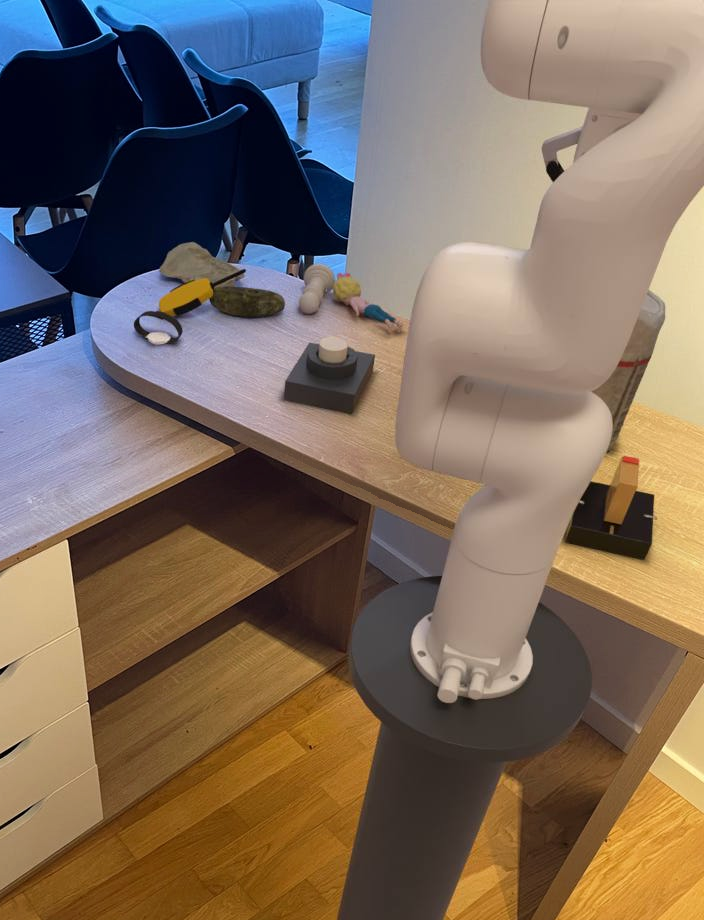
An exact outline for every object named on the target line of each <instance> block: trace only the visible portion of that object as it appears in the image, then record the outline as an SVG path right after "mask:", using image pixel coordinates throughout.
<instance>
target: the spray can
mask: <svg viewBox="0 0 704 920" xmlns="http://www.w3.org/2000/svg"><path fill="white" fill-rule="evenodd" d="M665 320H666V304H665V301H664V300H663V299H662V298H661V297H660V296H658V294H656V293H654V292H653V291H652V290H651V289H649V290H648V293H647V295H646V298H645V300H644V303H643V306H642V308H641V311H640V313H639V316H638V318H637V321H636V324H635V326H634V329H633V331H632V334H631V336H630V339H629V341H628V344H627V346H626V348H625V350H624V353H623V355H622V357H621V359H620V361H619V363H618V365H617V367H616V369H615V370H614V372H613V373H612V375H611V376H610V377H609V379H608V380H607V381H606V382H605V383H603V384H602V385H601V386H600V387H599V388H597V389H595V390H593V391H591V392H592V393H594V394H595V395H597V396H598V397H599V398H601V399H602V400H603V401H604V402H605V404H606V405H607V407H608V408H609V410H610V412H611V416H612V422H613V429H612V436H611V440H610V443H609V446H608V449H607V452H610V451H612V450H613V449H614V448H615V445H616V441H617V440H618V438H619V436H620V433H621V430H622V428H623V427H624V423H625V420H626V418H627V415H628V413H629V412H630V408H631V406H632V404H633V402H634V400H635V397H636V394H637V391H638V389H639V388H640V384H641V382H642V380H643V377H644V375H645V372H646V370H647V368H648V364H649V363H650V361H651V359H652V356H653V353H654V351H655V348H656V344H657V341H658V337H659V334H660V332H661V329H662V327H663V326H664V323H665Z"/></svg>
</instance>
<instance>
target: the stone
mask: <svg viewBox="0 0 704 920" xmlns="http://www.w3.org/2000/svg"><path fill="white" fill-rule="evenodd" d="M240 270H241V269H240V268H238V267H237V266H234V265H233V264H231V263H229V262H227V261H226V260H223V259H222V258H219V257H214V256H213V255H212V254H211V253H210V252H209V251H208V249H206V248H203V247H202V246H201V245H200V244H198V243H196V242H194V241H190V242H185V243H181V244H178V245H177V246H176V247H174V248H172V250H170V251H168V252H167V254H166V258H165V259H164V262H163V263H162V265H161V266H160V267H159V270H158V271H159V273H160V274H161V275H162V276H164V277H166V278H171V279H179V280H181V281H182V282H183V283H186V282H189V281H192V280H198V279H202V278H207V279H208V280H209V281H210V282H212V283H214V282H217V281H219V280H221V279H223V278H225V277H227V276H230V275H232V274H234V273H236V272H238V271H240ZM245 275H246V274H245V273H243V274H241V275H239V276H237V277H234V278H232V279H230V280H228V281H226V282H224V283H221V284H219V285H217V286H215V287H214V288H216V287H236V281H237V282H238V281H240V280H242V279H243V278H245Z"/></svg>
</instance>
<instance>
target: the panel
mask: <svg viewBox="0 0 704 920" xmlns="http://www.w3.org/2000/svg"><path fill="white" fill-rule="evenodd" d="M610 485H611V484H606V483H602V482H596V481H592V480H591V482H590V483H589V485H588V487H587V488H586V490H585V492H584V494H583V495H582V497H581V499H580V501H579V503H578V504H577V506H576V508H575V510H574V513H573V515H572V517H571V519H570V521H569V524H568V526H567V529H566V531H565V533H566V534H565V540H564V542H565V543H567V544H571V545H577V546H580V547H584V548H590V549H593V550H597V551H599V550H600V551H602V552H608V553H611V554H616V555H621V556H625V557H629V558H633V559H638V560H642V561H645V560H646V557H647V555H648V553H649V551H650V549H651V547H652V545H653V530H654V526H653V525H654V520H657V519H658V516H654V512H655V511H654V510H655V509H654V508H655V494H653V493H649V492H644V491H639V490H636V491H635V493H634V496H633V498H632V501H631V503H630V505H629V508H628V510H627V512H626V515H625V517H624V520H623V522H622V524H616V523H612V522H607V521H604V514H605V505H606V496H607V492H608V490H609V487H610Z"/></svg>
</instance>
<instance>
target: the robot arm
mask: <svg viewBox="0 0 704 920" xmlns="http://www.w3.org/2000/svg"><path fill="white" fill-rule="evenodd" d="M479 55H480V63H481V68H482V72H483V75H484V77H485V79H486V81H487V83H489V85H490V86H491V87H492V88H493V89H495V90H496V91H497V92H499V93H501V94H502V95H505V96H508V97H510V98H514V99H519V100H525V101H535V102H543V103H550V104H558V105H565V106H573V107H581V108H587V112H586V115H585V117H584V121H583V124H582V126H580V127H577V128H574V129H571V130H568V131H566V132H563V133H561V134H559V135H556V136H553V137H551V138H548V139H545V140H544V141H542V146H541V153H542V159H543V162H544V165H545V172H546V174H547V175H548V177H549V179H550V180H551V182H552V183H551V185H549V187H548V188H547V190H546V191H545V193H544V195H543V197H542V199H541V202H540V205H539V209H538V213H537V217H536V222H535V227H534V230H533V234H532V238H531V242H530V247H529V248H528V249H525V248H518V247H511V246H506V245H499V244H493V243H488V242H480V241H460V242H455V243H452V244H449V245H448V246H446V247H444V248H443V249H441V250H440V251H439V252H438V253H436V254H435V256H433V258H432V259H431V261H430V262H429V263H428V265H427V267H426V269H425V271H424V273H423V275H422V277H421V279H420V282H419V285H418V288H417V290H416V294H415V296H414V301H413V305H412V307H411V315H410V320H409V324H408V329H407V335H406V344H405V350H404V351H405V352H404V359H403V366H402V372H401V373H402V374H401V379H400V380H401V381H400V386H399V387H400V388H399V395H398V400H397V401H398V402H397V409H396V417H395V425H394V427H395V428H394V439H395V447H396V450H397V452H398V454H399V456H400V457H401V459H402V460H403V461H404V462H406V463H408V464H409V465H411V466H413V467H415V468H419V469H423V470H425V471H429V472H433V473H436V474H440V475H445V476H449V477H453V478H457V479H461V480H466V481H469V482H474V483H478V484H480V485H482V486H481V487H480V488H479V489H477V490H476V491H475V492H474V493H473V494H472V495H471V496H470V497H469V498H468V499H467V500H466V501H465V503H464V504H463V506H462V507H461V509H460V511H459V513H458V515H457V518H456V521H455V525H454V527H453V531H452V535H451V540H450V543H449V548H448V552H447V555H446V559H445V564H444V567H443V572H442V575H441V576H442V579H441V583H440V587H439V591H438V595H437V599H436V602H435V606H434V610H433V612H432V613H430V614H428V615H427V616H425V617H424V618H423V619H422V620H421V621H419V622H418V624H417V625H416V627H415V628H414V630H413V634H412V637H411V642H410V652H411V656H412V659H413V662H414V664H415V665H416V667H417V668H418V670H419V671H420V672H421V673H422V674H423V675H424V676H425V677H426V678H427V679H428V680H429V681H430V682H432V683H433V684H434V685H436V686H438V687H439V690H438V694H437V696H438V698H439V699H440V700H441V701H442V702H445V703H453V702H455V701H456V700H457V697H458V695H459V696H463V697H467V698H472V699H476V700H477V699H492V698H497V697H502V696H505V695H507V694H510V693H512V692H514V691H515V690H517V689H518V688H520V687H521V686H522V684H523V683H524V682H525V681H526V680H527V677H528V675H529V673H530V670H531V667H532V664H533V655H532V651H531V647H530V645H529V643H528V641H527V639H526V635H527V633H528V630H529V627H530V624H531V622H532V619H533V616H534V614H535V611H536V608H537V605H538V603H539V602H540V599H541V597H542V595H543V592H544V590H545V587H546V584H547V580H548V578H549V575H550V572H551V570H552V567H553V564H554V562H555V559H556V557H557V554H558V552H559V549H560V546H561V544H562V541H563V539H564V537H565V535H566V534H565V533H566V532H567V526H568V524H569V521H570V519H571V517H572V515H573V513H574V510H575V508H576V506H577V504H578V503H579V501H580V499H581V497H582V495H583V494H584V492H585V490H586V488H587V487H588V485H589V483H590V482H591V481H592V480H593V478H594V477H595V475H596V474H597V472H598V470H599V468H600V466H601V464H602V463H603V461H604V458H605V456H606V454H607V452H608V451H607V449H608V446H609V443H610V440H611V436H612V429H613V422H612V416H611V412H610V410H609V408H608V407H607V405H606V404H605V402H604V401H603V400H602V399H601V398H599V397H598V396H597V395H595V394H594V393H592V392H591V391H593V390H595V389H597V388H599V387H600V386H601V385H602V384H603V383H605V382H606V381H607V380H608V379H609V377H610V376H611V375H612V373H613V372H614V370H615V369H616V367H617V365H618V363H619V361H620V359H621V357H622V355H623V353H624V350H625V348H626V346H627V344H628V341H629V339H630V336H631V334H632V331H633V329H634V326H635V324H636V321H637V318H638V316H639V313H640V311H641V308H642V306H643V303H644V300H645V298H646V295H647V293H648V290H650V287H651V284H652V282H653V280H654V277H655V274H656V271H657V270H658V266H659V263H660V261H661V258H662V256H663V253H664V251H665V248H666V246H667V242H668V241H669V238H670V237H671V234H672V232H673V230H674V228H675V226H676V224H677V223H678V221H679V220H680V218H681V217H682V215H684V213H685V211H686V209H687V208H688V207H689V205H690V204H691V202H692V201H693V200H694V199H695V198H696V196H697V195H698V194H699V192H700V191H701V190H702V189H703V188H704V0H488V2H487V6H486V11H485V14H484V18H483V23H482V29H481V36H480V53H479ZM575 145H576V148H575V151H574V155H573V159H572V160H573V161H572V164H571V165H569V167H568V168H566V169H564V167H563V166H562V165H561V163H560V162H559V159H558V152H559V151H562V150H564V149H567V148H570V147H572V146H575Z"/></svg>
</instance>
